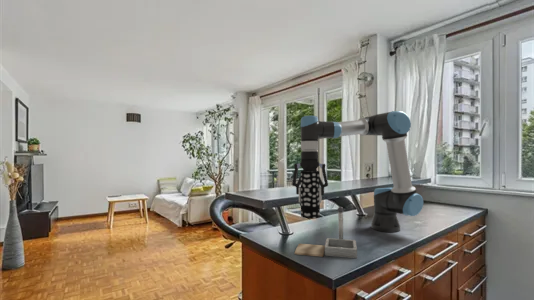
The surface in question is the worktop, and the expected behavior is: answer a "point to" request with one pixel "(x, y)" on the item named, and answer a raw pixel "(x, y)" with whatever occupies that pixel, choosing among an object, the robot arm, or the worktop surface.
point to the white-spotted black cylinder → (310, 194)
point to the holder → (340, 242)
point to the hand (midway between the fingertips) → (310, 202)
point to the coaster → (310, 250)
